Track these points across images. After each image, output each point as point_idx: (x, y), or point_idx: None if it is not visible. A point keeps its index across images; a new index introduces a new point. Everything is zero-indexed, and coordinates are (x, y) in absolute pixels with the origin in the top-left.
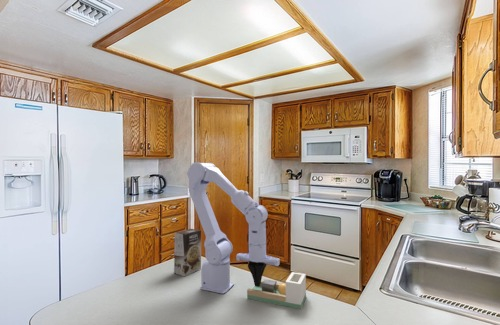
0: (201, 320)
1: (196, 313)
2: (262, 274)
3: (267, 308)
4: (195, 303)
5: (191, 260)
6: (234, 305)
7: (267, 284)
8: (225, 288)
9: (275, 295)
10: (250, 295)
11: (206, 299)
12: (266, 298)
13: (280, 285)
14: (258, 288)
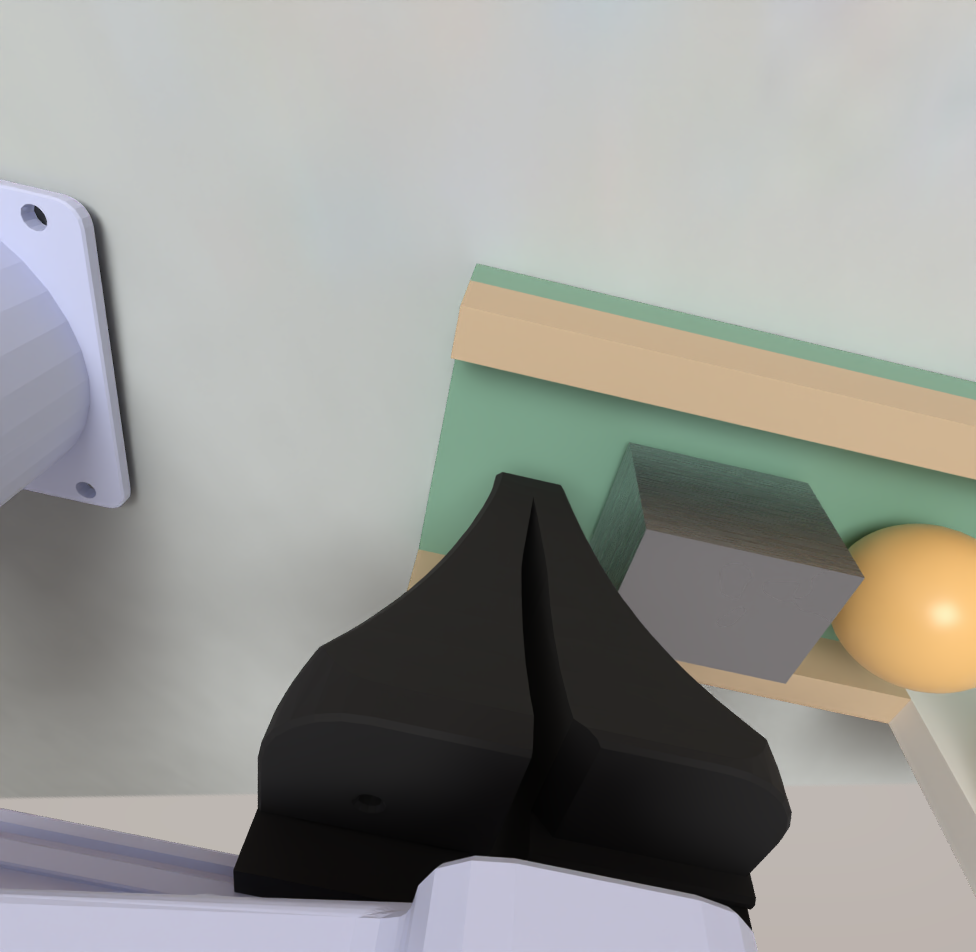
0: (208, 794)
1: (123, 746)
2: (606, 585)
3: None
4: (8, 651)
5: None
6: None
7: (686, 653)
8: (77, 436)
9: (766, 693)
10: None
11: (40, 593)
12: None
13: (895, 674)
14: (527, 418)
